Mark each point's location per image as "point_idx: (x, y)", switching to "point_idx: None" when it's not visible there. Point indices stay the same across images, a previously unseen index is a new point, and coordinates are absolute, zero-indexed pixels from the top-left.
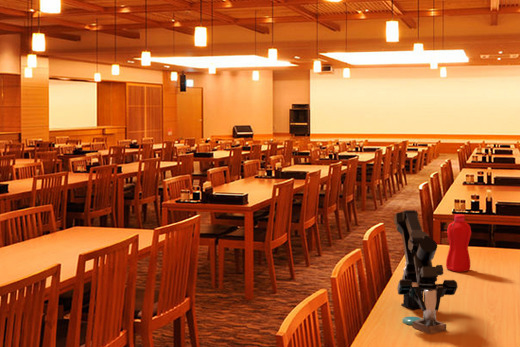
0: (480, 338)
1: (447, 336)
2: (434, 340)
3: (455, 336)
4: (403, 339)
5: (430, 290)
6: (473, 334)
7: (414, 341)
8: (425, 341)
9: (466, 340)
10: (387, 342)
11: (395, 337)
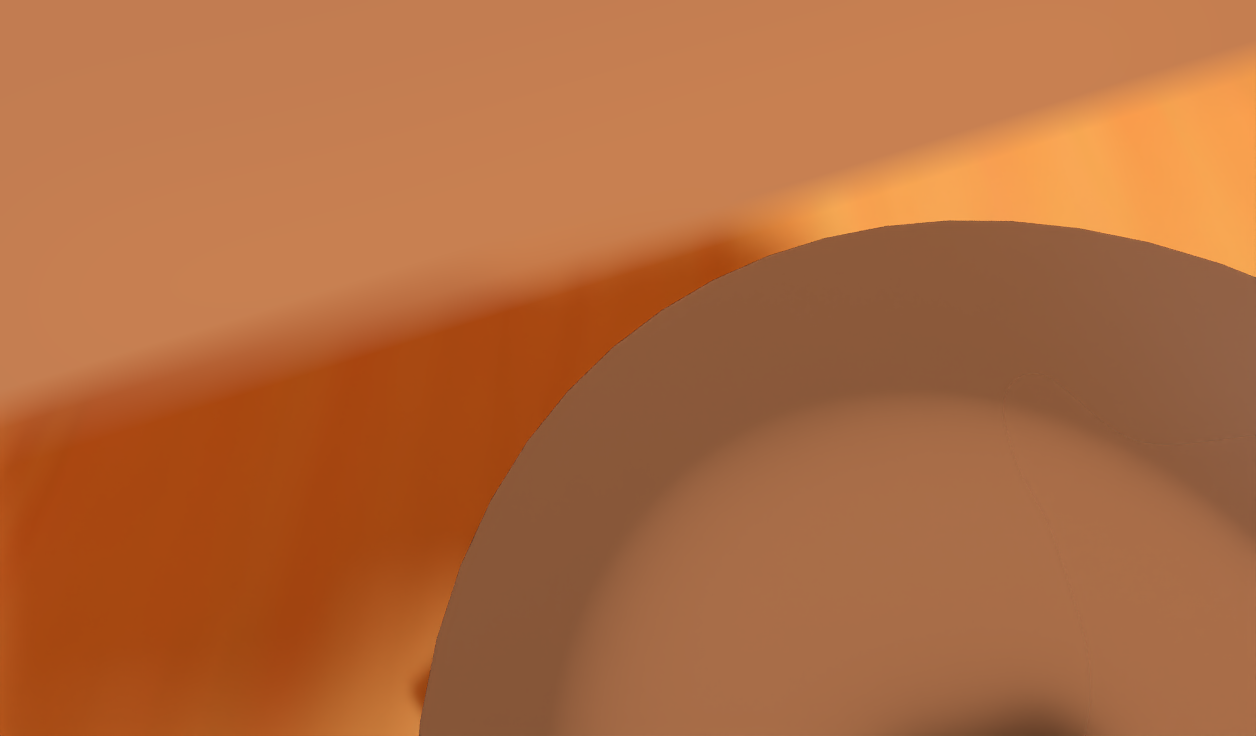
0: (31, 546)
1: (483, 494)
2: (664, 295)
3: (367, 528)
4: (1055, 217)
5: (985, 517)
6: (63, 708)
7: (903, 196)
8: (772, 233)
9: (252, 412)
10: (1202, 83)
11: (1184, 250)
